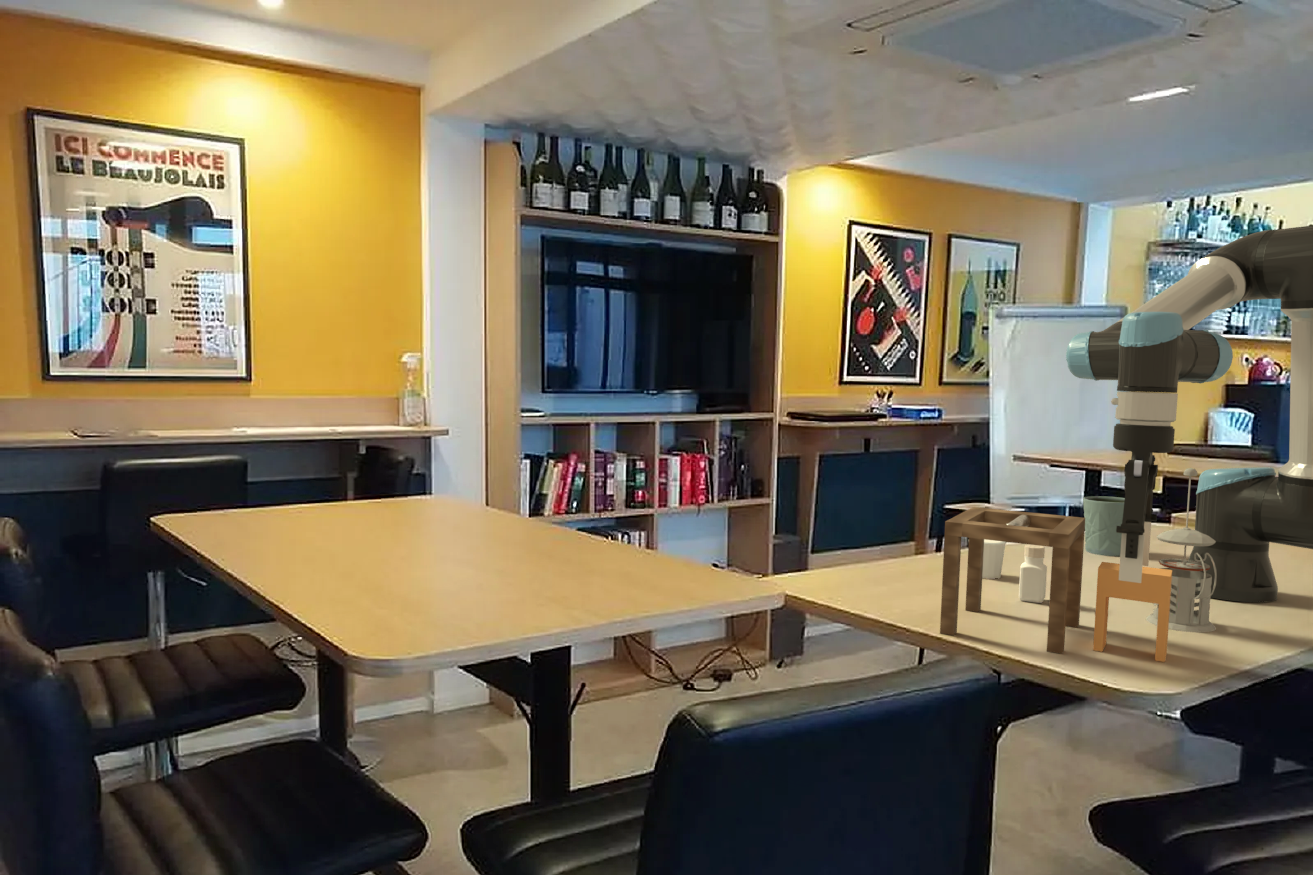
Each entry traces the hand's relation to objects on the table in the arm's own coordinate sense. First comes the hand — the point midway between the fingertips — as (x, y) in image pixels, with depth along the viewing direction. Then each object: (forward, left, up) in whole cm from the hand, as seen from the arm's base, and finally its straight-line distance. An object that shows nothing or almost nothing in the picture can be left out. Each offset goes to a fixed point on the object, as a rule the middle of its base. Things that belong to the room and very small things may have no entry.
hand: (1134, 572), depth 130 cm
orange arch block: (0, 0, -11) cm, 11 cm away
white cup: (+28, -38, -12) cm, 49 cm away
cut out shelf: (+16, -2, -11) cm, 20 cm away
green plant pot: (+11, -79, -12) cm, 81 cm away
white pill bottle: (+17, -23, -12) cm, 31 cm away
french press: (-6, -21, -12) cm, 25 cm away
